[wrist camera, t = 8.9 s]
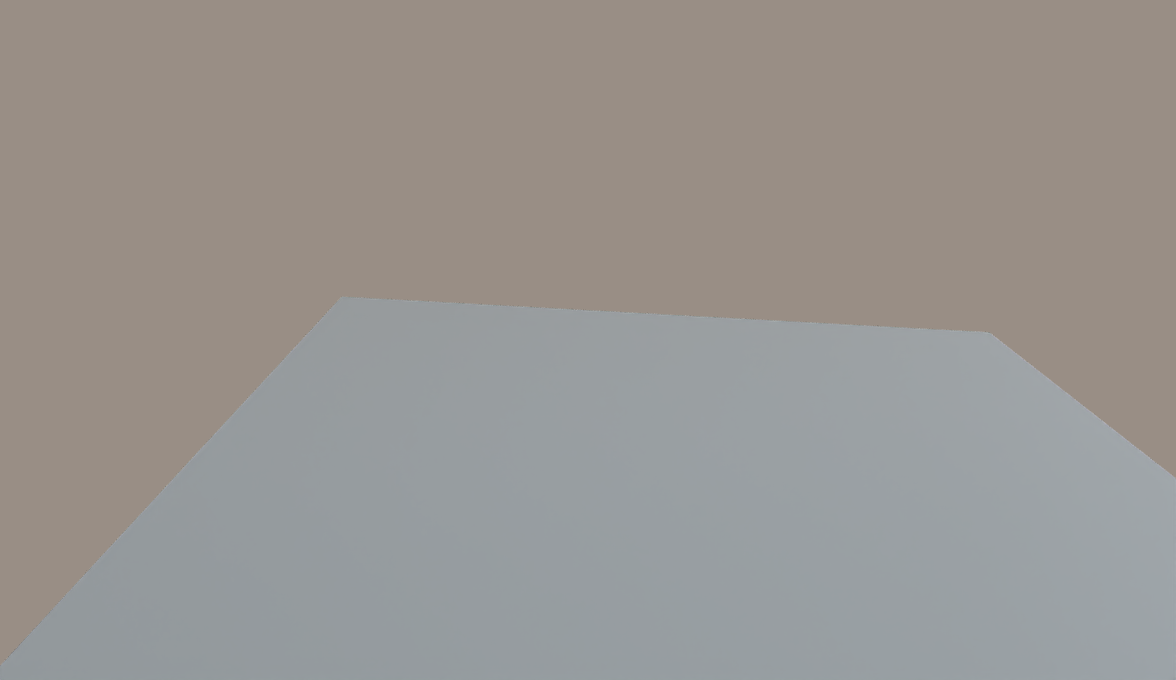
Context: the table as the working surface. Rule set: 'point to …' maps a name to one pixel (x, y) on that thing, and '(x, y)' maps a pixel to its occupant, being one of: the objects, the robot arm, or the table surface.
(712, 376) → the grey-blue block
